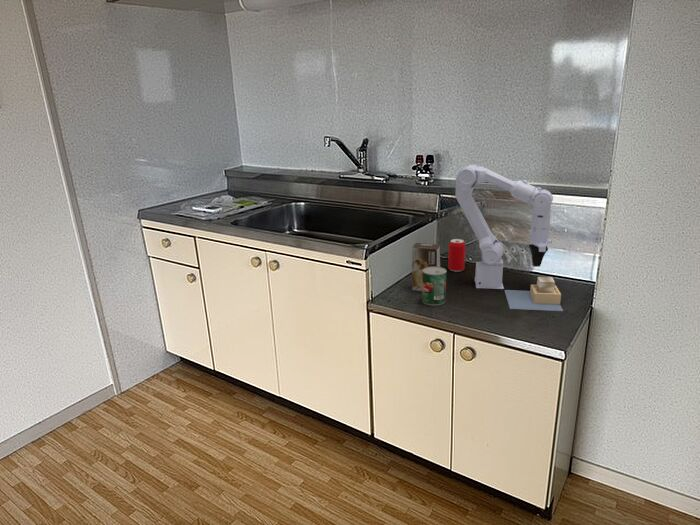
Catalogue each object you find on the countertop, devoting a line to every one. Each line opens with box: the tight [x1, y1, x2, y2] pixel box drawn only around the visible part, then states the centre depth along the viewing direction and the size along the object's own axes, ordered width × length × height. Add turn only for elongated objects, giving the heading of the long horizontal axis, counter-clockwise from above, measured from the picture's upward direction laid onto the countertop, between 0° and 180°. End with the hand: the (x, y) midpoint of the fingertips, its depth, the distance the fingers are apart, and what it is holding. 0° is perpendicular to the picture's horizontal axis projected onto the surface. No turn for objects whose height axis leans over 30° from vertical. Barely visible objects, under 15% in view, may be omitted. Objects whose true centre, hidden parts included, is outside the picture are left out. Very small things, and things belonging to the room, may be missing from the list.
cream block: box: [536, 276, 556, 294], centre depth 160 cm, size 4×4×4 cm
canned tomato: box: [421, 266, 448, 307], centre depth 163 cm, size 8×8×11 cm
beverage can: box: [447, 238, 466, 273], centre depth 191 cm, size 6×6×12 cm
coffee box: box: [411, 242, 441, 292], centre depth 173 cm, size 9×6×16 cm
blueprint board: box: [504, 284, 564, 312], centre depth 161 cm, size 16×16×4 cm
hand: (536, 265), depth 166 cm, fingers closed
